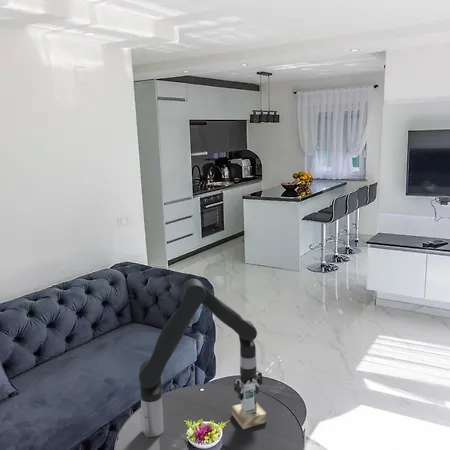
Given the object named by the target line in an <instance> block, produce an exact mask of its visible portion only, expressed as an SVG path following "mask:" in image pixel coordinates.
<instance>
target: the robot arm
mask: <svg viewBox="0 0 450 450" xmlns="http://www.w3.org/2000/svg"><path fill="white" fill-rule="evenodd" d="M182 290H183V297H182V300H181V303H180V304H179V307H178V308H177V310H176V311H175V313H173V314H172V315H171V317H169V318H168V320H167V321H166V322H165V323H164V325H163V327H162V328H161V331H160V333H159V335H158V337H157V340H156V343H155V345H154V348H153V352H152V354H151V357H150V359H147V360H145V361H143V362H142V363H141V365H140V366H139V370H138V371H139V372H138V380H139V381H138V382H139V384H140V387H139V388H140V393H139V394H140V406H141V411H140V412H139V415H140V425H141V426H140V428H141V431H140V432H142V434H143V435H144V436H145V438H156V437H158V436H161V435H162V434H163V432H164V413H163V398H162V397H163V396H162V395H163V393H162V375H163V372H164V370H165V367H166V366H167V363H168V362H169V360H170V359H171V358H172V356H173V353H174V352H175V351H176V349H177V347H178V345H179V344H180V342H181V340H182V338H183V337H184V335H185V332H186V330H187V329H188V327H189V325H190V323H191V321H192V318H193V317H194V315H195V314H196V313H197V311H198V310H199V308H200V307H201V305H203V306H205V308H207V309H208V310H209V311H210V312H211V313H212V314H213V315H214V316H215V317H216V318H217V319H218V320H219V321H220V322H221V323H223V324H224V325H226V326H227V327H228V328H230V329H231V330H233V331H234V332H235V333H236V334H237V335H238V339H239V346H240V347H239V352H240V354H239V355H240V357H239V373H240V377H239V378H238V379H237V378H235V379H234V387H233V388H234V389H233V391H234V392H235V393H236V394H238V395H237V397H238V399H239V400H240V401H241V400H243V391H244V389H245V386H246V385H247V384H249V382H252V381H253V382H255V389H256V395H258V394H259V392H260V389H259V387H260V385H263V373H262V372H261V371H260V370H257V357H256V356H257V354H256V353H257V349H256V343H255V341H254V340H255V339H256V338H257V335H258V331H257V329H256V327H255V325H254V324H253V323H252V322H251V321H249V320H246V319H243V317H242V316H241V314H239V313H238V312H236V311H235V310H234V309H232V308H231V307H230V306H228V305H227V304H226V303H225V302H223V301H222V300H221V299H219V298H217V296H215V295H214V294H213V293H212V292H211V291H210V290H209V288H207V287H206V286H205V284H203V282H202V281H201V280H199V279H196V278H190V279H188V280H186V281H185V282H184V284H183V287H182ZM240 382H241V383H240ZM242 383H243V384H245V386H244V387H243V386H242ZM241 388H242V389H241Z"/></svg>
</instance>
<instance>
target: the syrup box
mask: <svg viewBox="0 0 450 450" xmlns="http://www.w3.org/2000/svg"><path fill="white" fill-rule="evenodd" d="M240 383H241V382H240ZM242 386H243V387H244V386H245V384H243V383H242ZM241 389H242V388H241ZM256 402H257V394H256V389H255V382H253V381H252V382H249V384H247V385H246V386H245V389H244V391H243V400H240V404H241V407H242V409H243V411H244V412H245V414H248V413H252V412H256V411H257V405H256Z"/></svg>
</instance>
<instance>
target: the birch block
mask: <svg viewBox="0 0 450 450" xmlns="http://www.w3.org/2000/svg"><path fill="white" fill-rule="evenodd" d="M256 405H257V411H256V412H252V413H248V414H245V412H244V411H243V409H242V407H241V403H239V404H234V405H231V410H232V411H231V415H232V417H233V418H234V419H235V421H236V422H237V423H238V425H239V426H240V427H241V429H242V430H245V429H249V428H251V427H254V426H255V427H256V426H259V425H261V424H265V422H266V423H267V422H268V421H267V419H268V418H267V412H266V411H265V409H264V408H262V407H261V405H260V404H259V403H258V402H257V401H256Z"/></svg>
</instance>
